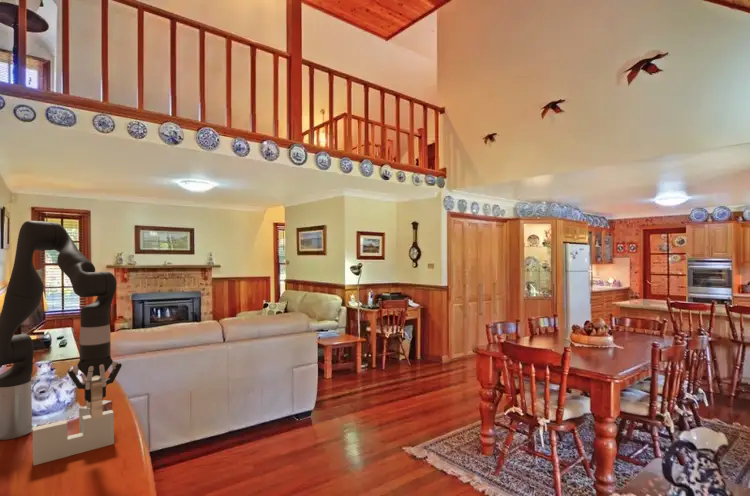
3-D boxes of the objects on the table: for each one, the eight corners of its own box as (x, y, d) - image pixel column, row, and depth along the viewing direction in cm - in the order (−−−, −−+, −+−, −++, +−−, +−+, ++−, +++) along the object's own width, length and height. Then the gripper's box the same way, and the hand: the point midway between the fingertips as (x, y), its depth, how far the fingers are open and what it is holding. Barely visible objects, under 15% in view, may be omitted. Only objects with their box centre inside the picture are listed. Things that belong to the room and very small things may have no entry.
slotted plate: (84, 403, 131) (84, 371, 131) (94, 401, 133) (94, 369, 133) (92, 419, 119) (92, 384, 119) (102, 417, 121) (102, 382, 121)
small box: (93, 441, 137) (92, 409, 137) (78, 440, 138) (78, 408, 138) (113, 431, 144) (112, 400, 144) (99, 430, 146) (98, 399, 146)
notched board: (33, 465, 122) (32, 430, 122) (33, 461, 124) (32, 427, 124) (114, 443, 135) (113, 412, 135) (112, 440, 137) (111, 409, 137)
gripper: (67, 347, 116) (67, 410, 116) (125, 339, 125) (125, 398, 125) (64, 342, 121) (64, 402, 121) (120, 335, 130) (120, 391, 131)
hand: (95, 400), depth 123 cm, fingers closed on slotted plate, 2 cm apart
